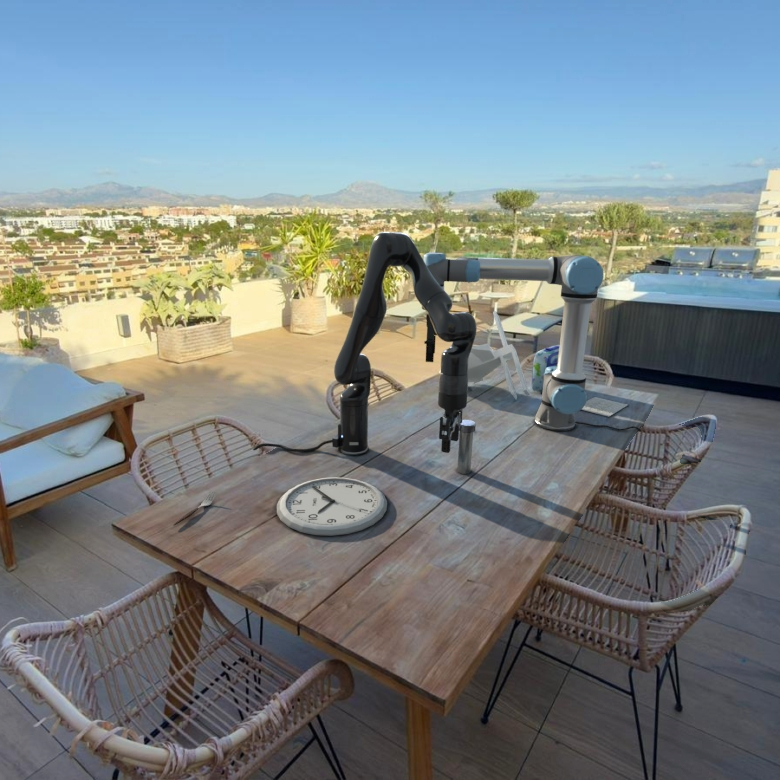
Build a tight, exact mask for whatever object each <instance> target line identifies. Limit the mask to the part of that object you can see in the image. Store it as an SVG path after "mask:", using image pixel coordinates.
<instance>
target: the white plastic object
mask: <svg viewBox="0 0 780 780" xmlns="http://www.w3.org/2000/svg"><path fill="white" fill-rule="evenodd" d="M492 315H493V319H494V321H495V324H496V325H495V326H496V328H497V332H498V335H499V338H500V342H501V345H502V347H500V348H498V349H496V350H495V349H493V348H492V347H491V346H490V344H489V343H488V342H487V343H483V344H479V345H473V346H472V349H471V352H470V355H469V358H468V383H473V384H477V383H480V382H482V381H484V378H485V377H486V376H487V375H489V374H490V373H492V372H494V371H495V370H496V369H497V368H499V367H500V366H502V370H503V373H504V376H505V380H506V383H507V386H508V390H509V393H510V394H511V395H512V397H513V398H514V399H515V400H517V392H516V391H517V390H516V388H515V385H514V381H513V378H512V375H511V371H510V369H509V365H508V361H510V360H513V363H514V366H515V369H516V372H517V376H518V380H519V382H520V385H521V389H522V391H523V393H524V395H525V396H526V397H528V396H531V395H530V390H529V388H528V387H529V386H528V384H527V381H526V378H525V375H524V371H523V369H522V368H523V367H522V366H521V362H520V359H519V355H518V352H517V349H516V347H515V346H514V345H513V343H511V344H508V341H507V337H506V334H505V331H504V328H503V325H502V321H501V318H500V315H499V314H498V312H497V311H496V310H495V311H492ZM438 372H439V373H440V372H441V369H440V370H439V371H438Z"/></svg>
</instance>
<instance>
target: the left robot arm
mask: <svg viewBox="0 0 780 780" xmlns="http://www.w3.org/2000/svg"><path fill="white" fill-rule="evenodd" d="M390 267H396V268H397V267H401V268H402V269H404V270H405V272H407V273H408V274H409V276H410V277H411V280H412V291H413V294H414V296H415V298H416V300H417V302H418V303H419V305H420V306H421V308H422V307H423V308H424V309H425V310H424V311H426V314H429V317H430V320H431V322H432V325H433V327H434V330H435V332H436V334H437V335H436V336H437V337H438V338H439V339H440V340H442V341H443V342H445V343H451V345H450V347H448V348H446V349H445V350H443V351H442V353H441V356H440V357H441V358H440V370H441V372H439V378H438V396H437V398H438V399H437V405H438V407H440V408H441V409H443V410H444V413H442V415H441V416H440V418H439V431H438V439H439V440H441V450H440V451H441V453H446V454H449V453H450V452H451V443H452V441H453V442H459V434H460V431H459V428H460V424H461V423H462V420H463V410H464V409H465V408H466V407H467V405H468V391H469V389H468V388H469V382H468V358H469V355H470V352H471V349H472V347H474V342H475V340H476V336H477V331H478V330H477V329H478V328H477V327H478V326H477V321H476V319H475V317H474V315H473V314H471V313H470V312H468V311H462V312H461V311H460V312H453V313H451V312H450V311H451V310H452V308H453V300H452V298H451V297H450V296H449V294H448V293H447V291H446V290H445V288H444V289H443V288H442V287H441V286H440V285H439V283H438V282H437V281H436V280H435V278H434V277H433V276H432V274H431V273H430V271H429V269H428V267H427V266H426V264H425V262H424V257H422V255H421V253H420V251H419V250H418V248H417V246H416V244H415V243H414V241H413V240H412V238H411V237H410V236H409V235H408V234H406V233H402V232H393V231H391V232H390V231H381V232H379V233H377V234H376V235H375V236H374V238H373V240H372V243H371V245H370V248H369V254H368V260H367V264H366V268H365V274H364V277H363V282H362V285H361V289H360V293H359V295H358V298H357V301H356V304H355V307H354V310H353V313H352V318H351V321H350V325H349V327H348V330H347V333H346V336H345V339H344V341H343V344H342V346H341V349H340V350H339V353H338V355H337V358H336V360H335V363H334V367H333V374H334V379H335V381H336V382H337V383H338V384H340V385H341V386H343V385H344V386H347V388H346V389H344V391H342V392H341V393H340V395H339V423H338V424H337V434H336V435H335V436H333V437H332V439H327V440H325V441H322V442H320V443H319V444H318V445H316V446H314V447H310V448H291V447H289V446H285V445H283V444H279V443H269V442H268V443H267V442H266V443H260V444H258V445H256V446H255V447H254V448H253V449H252V451H257V450H258V449H260V448H262V447H263V448H264V447H272V448H280V449H283V450H285V451H289V452H295V453H308V452H313V451H316V450H319V449H320V448H321V447H323V446H324V445H327V444H331V445H332V446H331V447H332V448H336V449H337V451H338V452H341V453H342V454H344V455H347V456H360V455H365V454H366V453H367V452H368V451H369V441H368V439H369V438H368V437H369V416H368V415H369V397H370V394H371V382H372V380H371V379H372V366H371V362H370V360H369V357H368V356H367V355H366V354H364V353H362V352H363V350H365V348H366V347H367V345H368V344H369V343H370V342H371V341H372V340H373V339H374V337H376V335H377V334H378V333H379V331H380V330H381V328H382V325H383V323H384V320H385V317H386V314H387V309H388V305H387V299H386V298H387V297H386V295H385V291H384V280H385V276H386V273H387V270H388V268H390ZM445 433H446V434H445Z"/></svg>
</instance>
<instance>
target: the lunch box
mask: <svg viewBox="0 0 780 780" xmlns="http://www.w3.org/2000/svg"><path fill="white" fill-rule="evenodd" d="M559 346H560V344H556V345H551V346H549V347H545V348H543V349H541V350H538V351H537V352H536V353H535V355H534V358H533V361H532V362H533V363H532V372H531V374H532V375H531V390H532V391H536V392H538V393H539V392H540V393H542V392H543V382H544V373H545V369H546V368H547V367H553V366H557V364H558V355H559Z"/></svg>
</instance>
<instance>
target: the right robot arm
mask: <svg viewBox="0 0 780 780" xmlns="http://www.w3.org/2000/svg"><path fill="white" fill-rule="evenodd" d="M423 260H424V262H425V264H426V266H427V267H428V269H429V271H430V273H431V274H432V276H433V277H434V278H435V280H436V281H437V282H438V283H439V285H440V286H441V287H442V288H443V289H444V290H445V282H447V283H449V282H452V283H453V282H457V283H468V284H470V283H477V282H479V281H480V280H495V281H497V280H499V281H500V280H501V281H526V282H527V281H531V282H546V283H547V284H548V285H557V286H561V289H560V298H561V299H562V300H563V303H564V305H563V313H562V322H561V330H560V339H559V345H560V346H559V355H558V364H557V366H553V367H547V368H546V369H545V373H544V382H543V392H541V393H542V394H541V402H540V405H539V407H538V410H537V411H536V413H535V417H534V424H535V425H536V426H537V427H539V428H542V429H544V430H549V431H556V432H567V431H572V430H574V429H575V428H576V424H578V425H584V426H589V427H595V428H607V429H611V430H614V431H619V432H622V431H628V430H631V429H632V430H633V429H636V430H637V431H641V429H640V428H639V427H637V426H634V425H632V426H628V427H624V428H617V427H614V426H611V425H607V424H593V423H588V422H582V421H576V418H575V417H576V416H575V414H576V413H579V412H580V411H582V410H581V409H582V408H583V407H584V406H585V404H586V401H588V397H587V392H586V389H585V388H586V383H587V382H586V381H587V375H586V374H585V373H584V371H583V369H584V361H585V355H586V347H587V339H588V338H587V337H588V330H589V324H590V318H591V317H590V316H591V308H592V303H593V302H594V301H596V300H597V298H598V294H599V293H598V291H599V288H601V285H602V284H603V281H604V269H603V267H602V265H601V264H600V262H599V261H597V260H596V259H595V258H594V257H592V256H587V255H581V254H574V255H573V254H572V255H565V256H551V257H549V258H548V259H545V258H544V259H543V258H542V259H541V258H540V259H539V258H501V257H500V258H497V257H496V258H495V257H494V258H492V257H466V256H460V257H457V258H455V259H451V258H449V259H448V258H447V257H446V253H444V252H427V253H425V254H424V255H423ZM421 309H422V310H423V311H426V310H425V309H424V308H423V307H422V306H421ZM425 320H426V340H424V342H423V343H424V344H425V362H426V363H434V359H435V357H434V356H435V353H436V338H437V337H436V336H437V334H436V332H435V330H434V327H433V325H432V322H431V320H430V317H429V314H428V313H426V316H425Z"/></svg>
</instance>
